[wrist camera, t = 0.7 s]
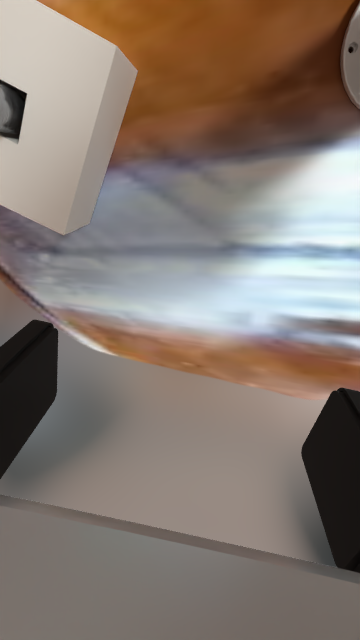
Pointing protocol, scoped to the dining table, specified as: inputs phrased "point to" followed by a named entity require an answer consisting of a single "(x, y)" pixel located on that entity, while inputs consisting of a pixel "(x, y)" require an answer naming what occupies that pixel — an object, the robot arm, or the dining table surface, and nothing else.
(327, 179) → the dining table surface
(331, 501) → the robot arm
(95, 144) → the block
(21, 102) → the peg
